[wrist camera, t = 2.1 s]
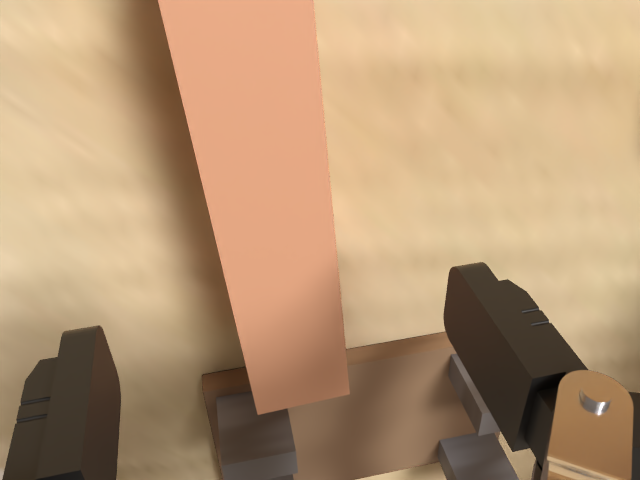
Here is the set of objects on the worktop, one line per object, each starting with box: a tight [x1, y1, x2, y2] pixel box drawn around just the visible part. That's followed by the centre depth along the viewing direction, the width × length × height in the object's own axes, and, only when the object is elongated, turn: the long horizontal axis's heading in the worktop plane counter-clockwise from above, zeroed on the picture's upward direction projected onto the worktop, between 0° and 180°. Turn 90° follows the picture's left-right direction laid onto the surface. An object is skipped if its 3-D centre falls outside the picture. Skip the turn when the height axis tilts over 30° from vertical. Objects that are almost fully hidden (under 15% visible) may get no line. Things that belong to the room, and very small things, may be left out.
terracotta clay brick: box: [158, 0, 350, 415], centre depth 19 cm, size 4×16×5 cm, turn 5°
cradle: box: [202, 332, 519, 480], centre depth 29 cm, size 15×9×4 cm, turn 92°
